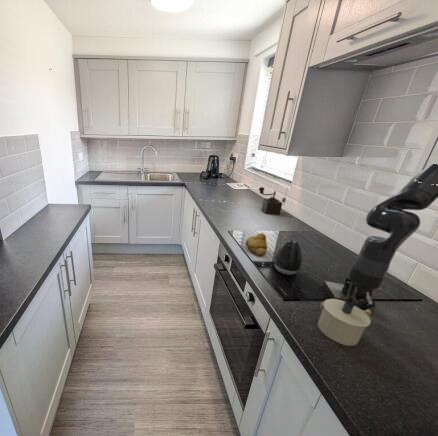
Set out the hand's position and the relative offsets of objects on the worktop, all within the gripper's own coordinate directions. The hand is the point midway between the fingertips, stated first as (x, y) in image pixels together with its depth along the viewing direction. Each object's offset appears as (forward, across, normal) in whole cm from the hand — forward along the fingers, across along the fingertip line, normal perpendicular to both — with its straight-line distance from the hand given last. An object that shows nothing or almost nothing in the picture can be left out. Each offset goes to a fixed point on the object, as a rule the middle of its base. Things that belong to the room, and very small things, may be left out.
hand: (349, 312), depth 78 cm
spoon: (+1, 0, -1) cm, 1 cm away
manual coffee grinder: (+1, -106, -9) cm, 106 cm away
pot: (+1, +10, -7) cm, 12 cm away
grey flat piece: (+1, -9, +3) cm, 10 cm away
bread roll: (+1, -37, -25) cm, 45 cm away
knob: (-2, -9, +3) cm, 10 cm away
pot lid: (-7, +10, -7) cm, 14 cm away
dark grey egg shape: (+1, -21, -15) cm, 26 cm away
